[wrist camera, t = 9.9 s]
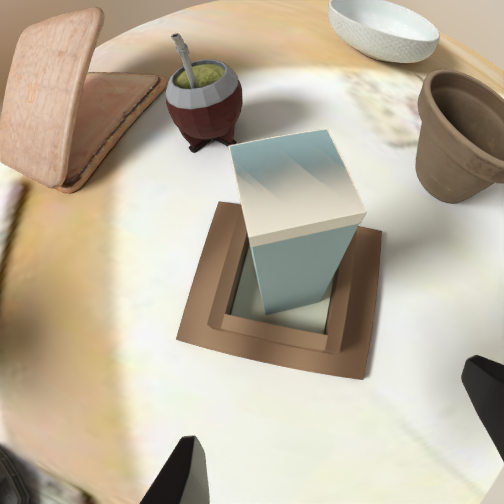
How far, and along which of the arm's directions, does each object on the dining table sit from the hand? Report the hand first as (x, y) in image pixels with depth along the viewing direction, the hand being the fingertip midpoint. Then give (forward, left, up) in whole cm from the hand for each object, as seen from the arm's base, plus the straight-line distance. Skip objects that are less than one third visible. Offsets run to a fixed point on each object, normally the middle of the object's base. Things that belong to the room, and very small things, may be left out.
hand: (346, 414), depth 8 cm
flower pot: (-11, -22, -14) cm, 28 cm away
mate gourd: (+13, -22, -14) cm, 29 cm away
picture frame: (+3, -8, -13) cm, 16 cm away
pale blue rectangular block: (+3, -8, -13) cm, 15 cm away
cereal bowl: (-5, -47, -14) cm, 49 cm away
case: (+34, -24, -14) cm, 44 cm away
